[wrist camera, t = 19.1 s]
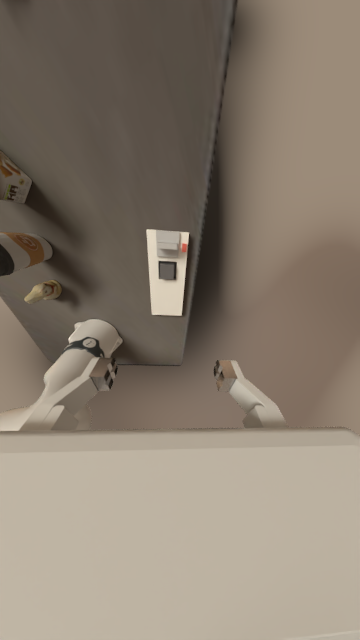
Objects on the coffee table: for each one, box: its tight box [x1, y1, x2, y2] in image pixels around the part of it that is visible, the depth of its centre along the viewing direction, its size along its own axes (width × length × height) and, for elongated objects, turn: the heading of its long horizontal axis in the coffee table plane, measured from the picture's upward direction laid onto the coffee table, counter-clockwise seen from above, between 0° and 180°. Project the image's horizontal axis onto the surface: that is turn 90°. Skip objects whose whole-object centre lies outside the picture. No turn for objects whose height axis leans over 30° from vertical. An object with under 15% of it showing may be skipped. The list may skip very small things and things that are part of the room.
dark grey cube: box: [160, 262, 174, 279], centre depth 40 cm, size 4×4×4 cm
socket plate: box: [147, 229, 189, 316], centre depth 42 cm, size 26×11×3 cm, turn 176°
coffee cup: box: [0, 232, 53, 276], centre depth 31 cm, size 8×8×15 cm
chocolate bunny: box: [25, 280, 62, 304], centre depth 41 cm, size 6×8×10 cm
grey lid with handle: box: [156, 230, 180, 258], centre depth 34 cm, size 6×6×4 cm
